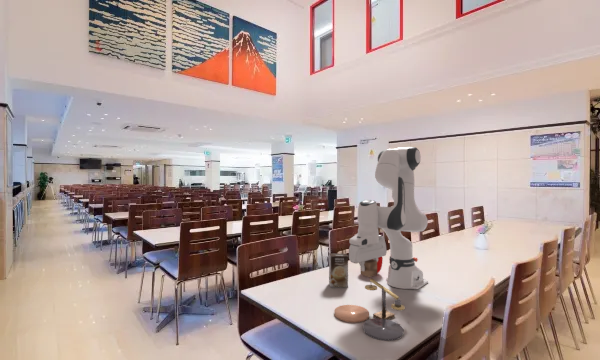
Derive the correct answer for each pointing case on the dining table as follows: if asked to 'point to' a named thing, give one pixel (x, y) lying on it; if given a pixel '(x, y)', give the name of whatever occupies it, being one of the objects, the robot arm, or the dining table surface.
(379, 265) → the ceramic cup
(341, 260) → the coffee box
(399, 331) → the charcoal dish
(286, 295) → the dining table surface
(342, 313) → the terracotta dish
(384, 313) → the balance
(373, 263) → the walnut block
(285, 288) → the dining table surface
